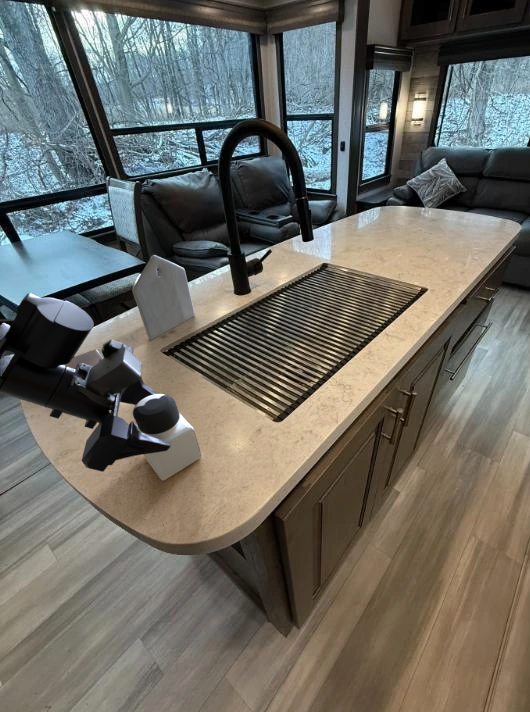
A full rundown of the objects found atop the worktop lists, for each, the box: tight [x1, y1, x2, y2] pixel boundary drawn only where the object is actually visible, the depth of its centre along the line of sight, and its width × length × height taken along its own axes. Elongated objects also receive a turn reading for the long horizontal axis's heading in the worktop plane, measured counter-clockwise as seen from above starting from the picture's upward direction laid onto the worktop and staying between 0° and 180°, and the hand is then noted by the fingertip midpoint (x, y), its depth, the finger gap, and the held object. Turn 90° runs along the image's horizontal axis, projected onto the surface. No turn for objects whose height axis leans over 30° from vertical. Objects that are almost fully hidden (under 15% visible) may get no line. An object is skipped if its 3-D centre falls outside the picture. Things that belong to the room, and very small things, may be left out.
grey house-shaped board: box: [131, 254, 196, 341], centre depth 87 cm, size 16×8×19 cm, turn 149°
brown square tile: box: [66, 349, 104, 369], centre depth 75 cm, size 9×9×2 cm
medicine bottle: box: [132, 393, 203, 482], centre depth 52 cm, size 7×7×12 cm
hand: (168, 426), depth 52 cm, fingers open, 9 cm apart
